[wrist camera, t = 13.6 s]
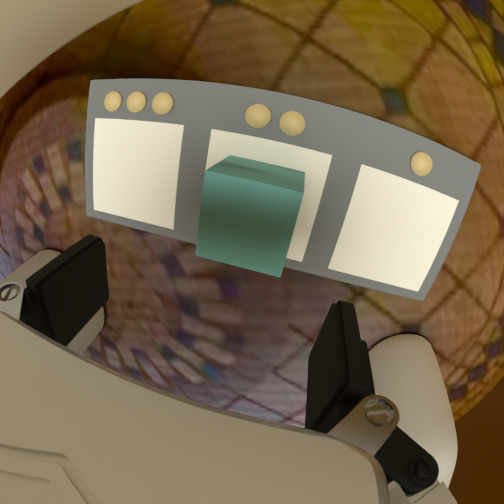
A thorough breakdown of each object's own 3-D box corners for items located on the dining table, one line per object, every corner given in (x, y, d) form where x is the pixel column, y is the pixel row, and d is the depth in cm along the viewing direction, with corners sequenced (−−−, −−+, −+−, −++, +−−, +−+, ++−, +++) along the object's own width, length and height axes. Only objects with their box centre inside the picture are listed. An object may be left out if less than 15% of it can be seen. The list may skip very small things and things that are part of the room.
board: (419, 293, 22) (423, 303, 21) (94, 210, 24) (84, 216, 23) (473, 161, 16) (483, 165, 15) (99, 80, 18) (88, 80, 17)
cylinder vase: (101, 346, 34) (8, 488, 12) (36, 295, 33) (-66, 410, 11) (115, 286, 28) (-30, 477, 6) (37, 228, 27) (-113, 359, 5)
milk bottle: (368, 331, 25) (382, 553, 7) (440, 328, 23) (490, 521, 6) (355, 381, 28) (353, 557, 11) (418, 378, 27) (439, 540, 9)
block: (287, 239, 21) (280, 277, 16) (219, 222, 21) (195, 255, 17) (304, 172, 18) (303, 193, 14) (230, 155, 18) (205, 170, 14)
